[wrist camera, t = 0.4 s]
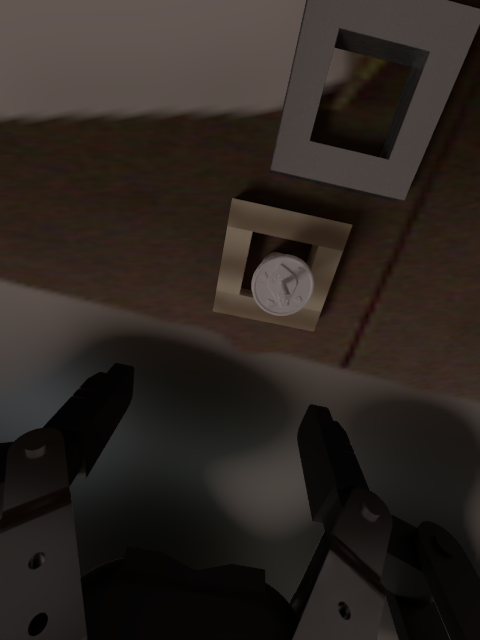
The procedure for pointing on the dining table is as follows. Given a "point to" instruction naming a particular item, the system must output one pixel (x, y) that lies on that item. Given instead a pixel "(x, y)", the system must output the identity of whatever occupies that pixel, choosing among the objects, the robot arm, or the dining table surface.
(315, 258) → the socket block
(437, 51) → the ring
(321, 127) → the dining table surface
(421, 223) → the dining table surface
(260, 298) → the smoothie
